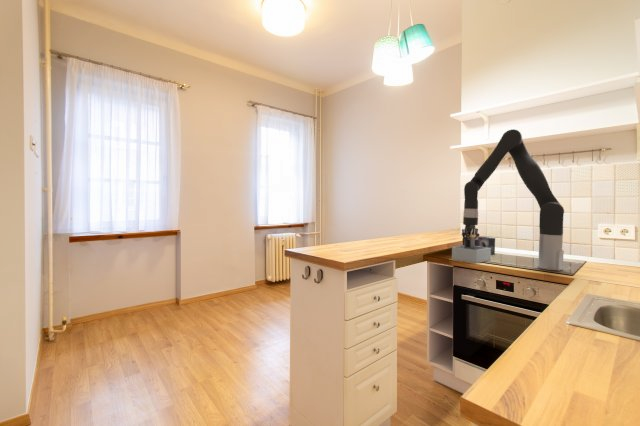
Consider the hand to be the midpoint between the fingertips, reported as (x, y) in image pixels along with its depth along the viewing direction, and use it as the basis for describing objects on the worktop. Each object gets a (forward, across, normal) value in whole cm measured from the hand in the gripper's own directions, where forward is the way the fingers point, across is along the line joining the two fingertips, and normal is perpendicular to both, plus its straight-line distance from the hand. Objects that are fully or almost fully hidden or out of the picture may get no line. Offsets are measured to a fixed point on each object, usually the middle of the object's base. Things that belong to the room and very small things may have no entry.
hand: (469, 246), depth 172 cm
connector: (+3, 0, 0) cm, 3 cm away
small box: (+8, +28, +5) cm, 29 cm away
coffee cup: (+8, +16, +8) cm, 19 cm away
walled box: (+8, 0, -1) cm, 8 cm away
